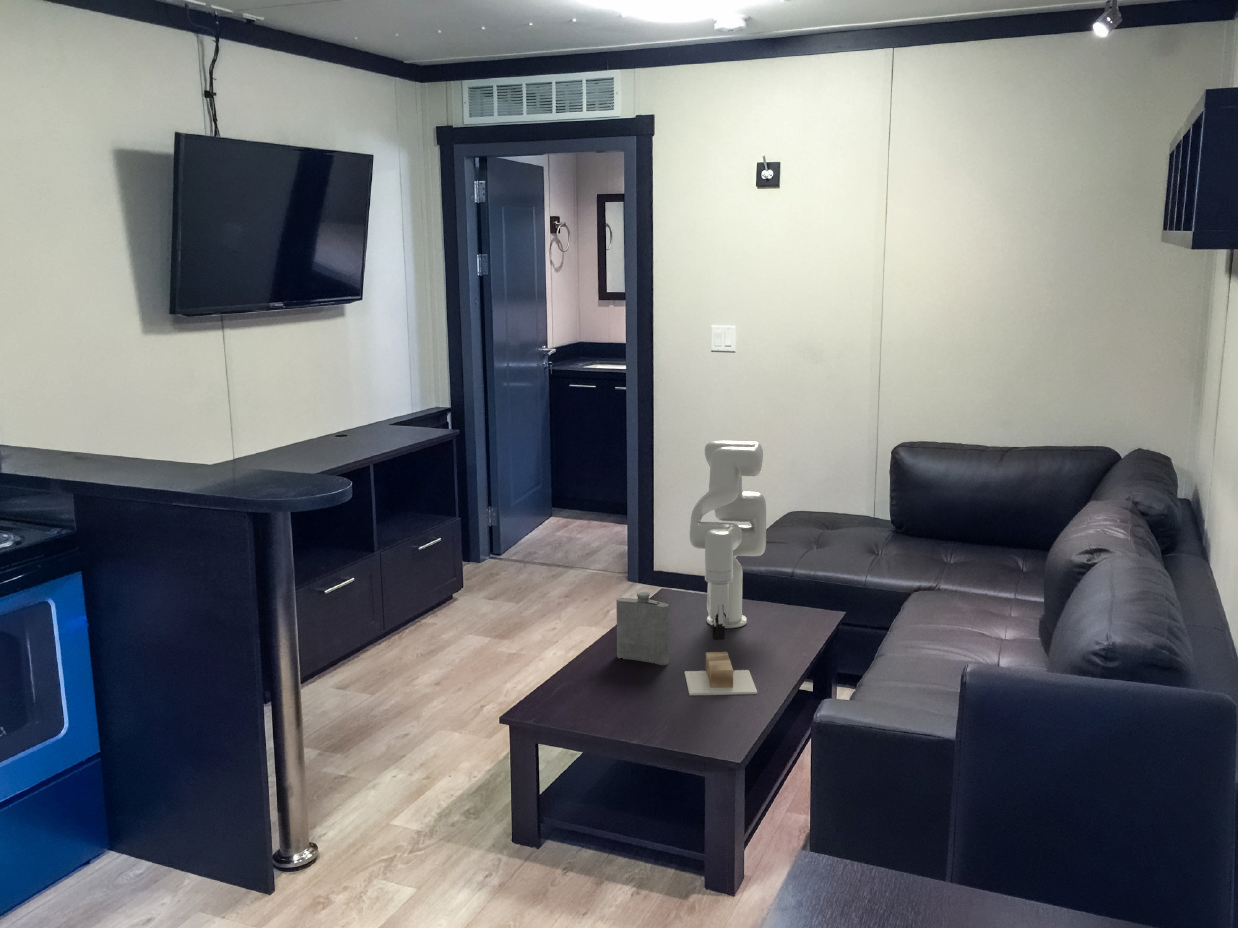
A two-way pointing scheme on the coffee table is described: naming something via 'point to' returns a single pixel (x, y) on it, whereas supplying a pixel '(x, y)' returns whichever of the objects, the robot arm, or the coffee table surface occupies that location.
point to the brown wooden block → (719, 670)
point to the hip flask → (643, 629)
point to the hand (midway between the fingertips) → (718, 638)
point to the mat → (701, 686)
